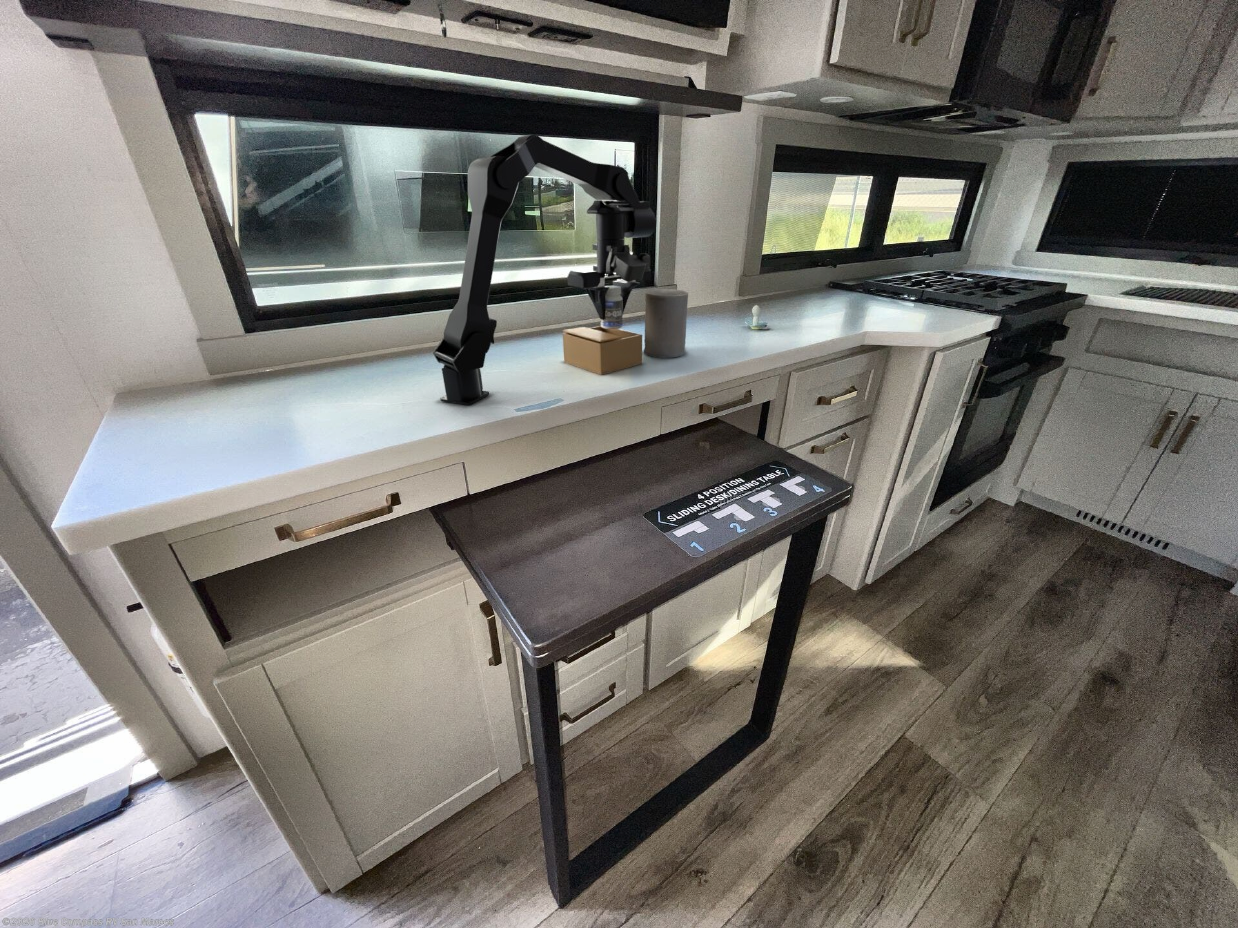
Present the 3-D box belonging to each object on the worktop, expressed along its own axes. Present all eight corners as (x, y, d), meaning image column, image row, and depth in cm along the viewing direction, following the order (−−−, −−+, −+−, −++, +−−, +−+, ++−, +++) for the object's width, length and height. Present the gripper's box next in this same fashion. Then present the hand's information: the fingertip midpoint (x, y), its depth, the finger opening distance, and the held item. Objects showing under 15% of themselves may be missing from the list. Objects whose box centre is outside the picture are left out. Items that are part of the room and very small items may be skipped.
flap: (600, 342, 101) (600, 340, 101) (562, 331, 110) (562, 330, 110) (621, 338, 105) (621, 336, 105) (583, 328, 113) (583, 326, 113)
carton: (600, 375, 104) (600, 344, 101) (564, 362, 113) (562, 333, 110) (641, 363, 111) (642, 334, 108) (604, 352, 120) (603, 325, 117)
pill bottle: (603, 330, 108) (603, 289, 104) (598, 325, 112) (597, 285, 108) (625, 328, 109) (625, 287, 105) (619, 324, 113) (619, 284, 109)
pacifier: (759, 325, 145) (741, 326, 143) (762, 302, 142) (744, 303, 140) (774, 330, 139) (756, 331, 137) (778, 307, 136) (760, 308, 134)
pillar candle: (635, 352, 119) (636, 286, 113) (663, 345, 125) (665, 281, 118) (666, 361, 113) (668, 291, 106) (694, 352, 119) (698, 286, 112)
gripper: (600, 243, 91) (602, 330, 98) (671, 239, 102) (668, 317, 110) (564, 240, 99) (568, 321, 106) (633, 236, 110) (632, 310, 117)
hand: (611, 317), depth 109 cm, fingers closed on pill bottle, 5 cm apart
